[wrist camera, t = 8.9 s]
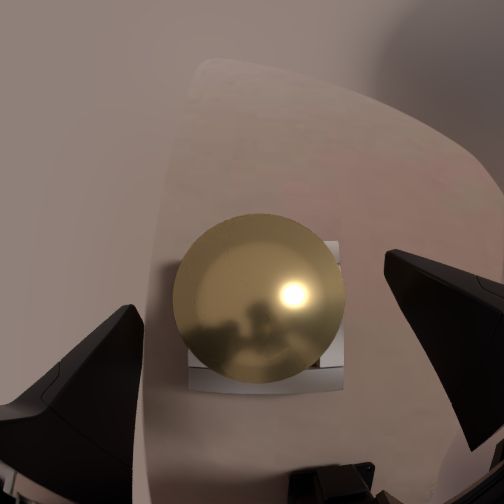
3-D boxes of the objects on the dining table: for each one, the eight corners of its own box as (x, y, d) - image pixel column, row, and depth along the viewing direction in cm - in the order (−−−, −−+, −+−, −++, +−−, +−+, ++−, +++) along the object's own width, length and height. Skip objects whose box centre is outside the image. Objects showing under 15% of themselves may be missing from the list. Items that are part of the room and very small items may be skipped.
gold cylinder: (296, 349, 17) (346, 379, 5) (237, 350, 17) (170, 377, 6) (296, 291, 18) (337, 213, 6) (237, 292, 19) (179, 216, 7)
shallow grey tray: (333, 383, 16) (344, 391, 13) (199, 383, 17) (186, 391, 14) (330, 253, 19) (339, 239, 16) (202, 255, 20) (191, 242, 17)
